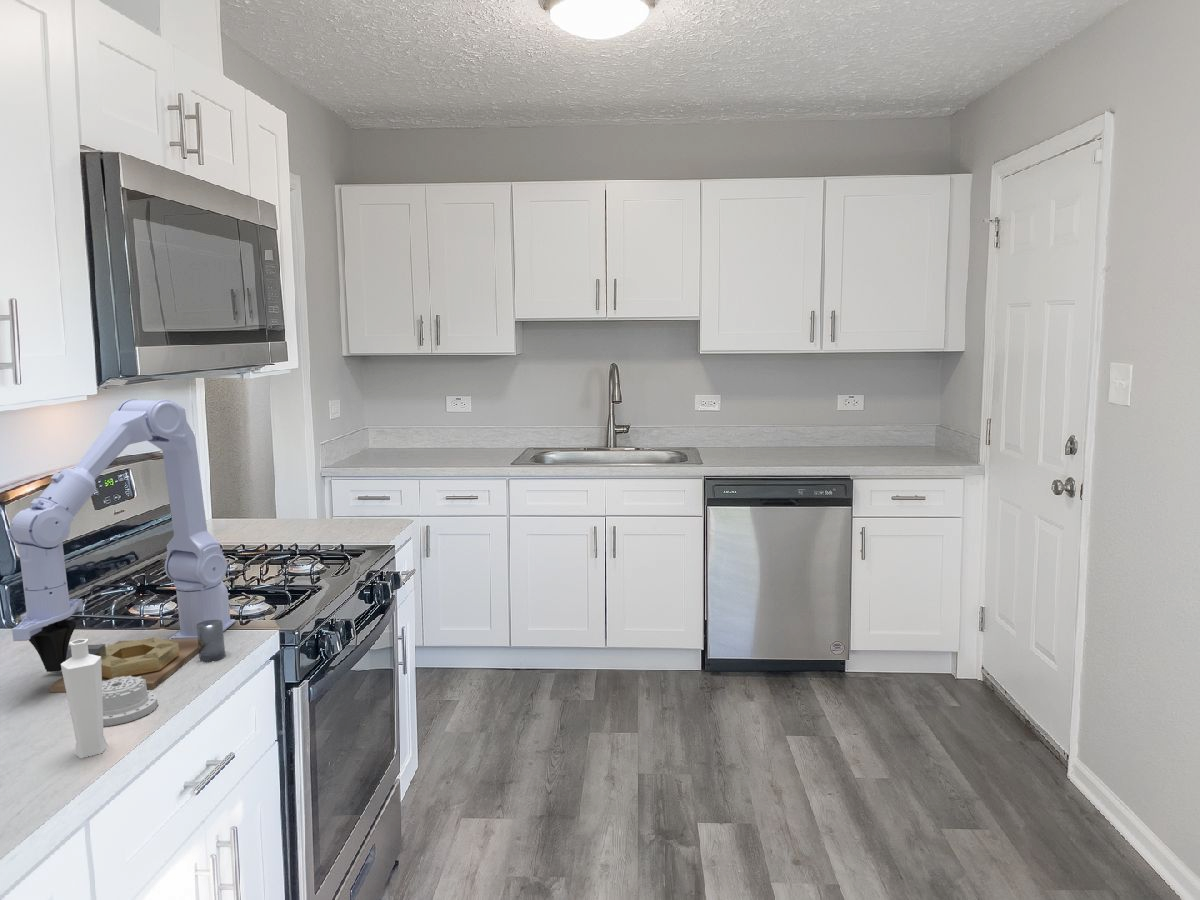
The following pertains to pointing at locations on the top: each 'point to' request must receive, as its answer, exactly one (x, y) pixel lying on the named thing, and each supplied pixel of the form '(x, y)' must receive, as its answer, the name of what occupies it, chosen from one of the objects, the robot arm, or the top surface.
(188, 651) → the mount board
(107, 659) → the handled hexagon ring
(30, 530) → the robot arm
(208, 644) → the steel pin
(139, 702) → the mechanical component
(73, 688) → the perfume bottle
